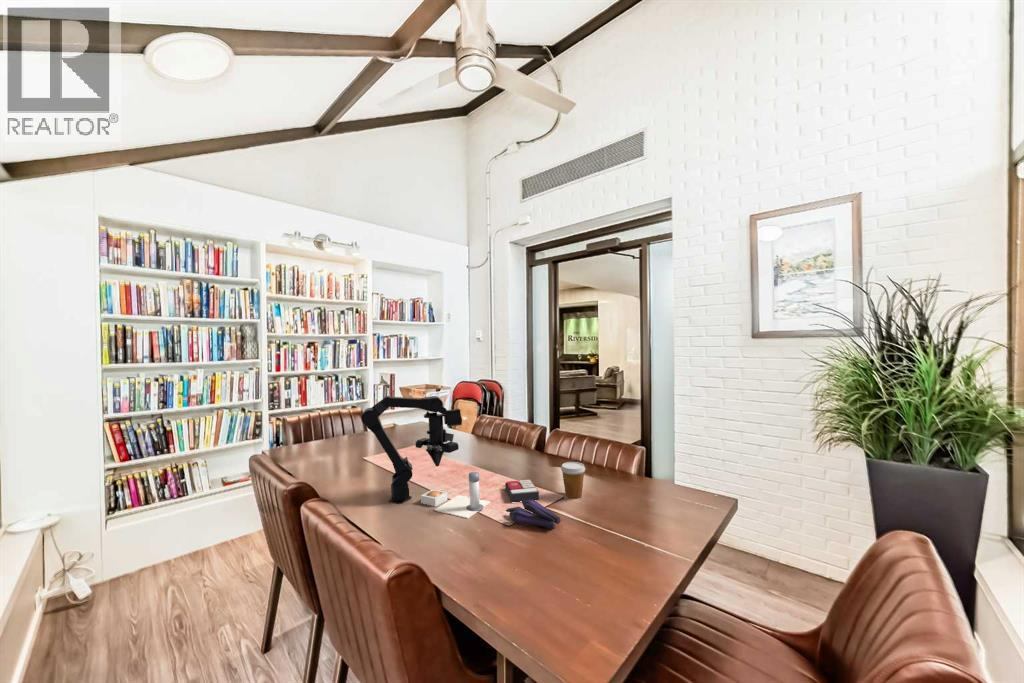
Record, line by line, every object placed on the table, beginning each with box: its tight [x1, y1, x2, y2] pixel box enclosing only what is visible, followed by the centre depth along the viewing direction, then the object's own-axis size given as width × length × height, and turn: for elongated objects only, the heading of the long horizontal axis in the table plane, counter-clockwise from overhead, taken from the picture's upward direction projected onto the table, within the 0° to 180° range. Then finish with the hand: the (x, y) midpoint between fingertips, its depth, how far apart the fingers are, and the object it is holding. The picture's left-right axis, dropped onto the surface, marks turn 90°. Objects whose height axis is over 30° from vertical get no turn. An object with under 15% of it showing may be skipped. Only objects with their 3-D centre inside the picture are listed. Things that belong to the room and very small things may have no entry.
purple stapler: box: [505, 500, 562, 530], centre depth 138 cm, size 7×12×20 cm
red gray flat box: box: [504, 479, 540, 503], centre depth 162 cm, size 11×4×15 cm
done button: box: [428, 491, 440, 497], centre depth 157 cm, size 4×4×2 cm
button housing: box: [420, 489, 448, 508], centre depth 157 cm, size 7×7×3 cm
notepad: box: [434, 494, 491, 519], centre depth 152 cm, size 16×15×1 cm
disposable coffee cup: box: [560, 461, 586, 500], centre depth 159 cm, size 10×10×12 cm
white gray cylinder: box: [468, 471, 481, 509], centre depth 150 cm, size 4×4×12 cm
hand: (437, 466), depth 164 cm, fingers closed
